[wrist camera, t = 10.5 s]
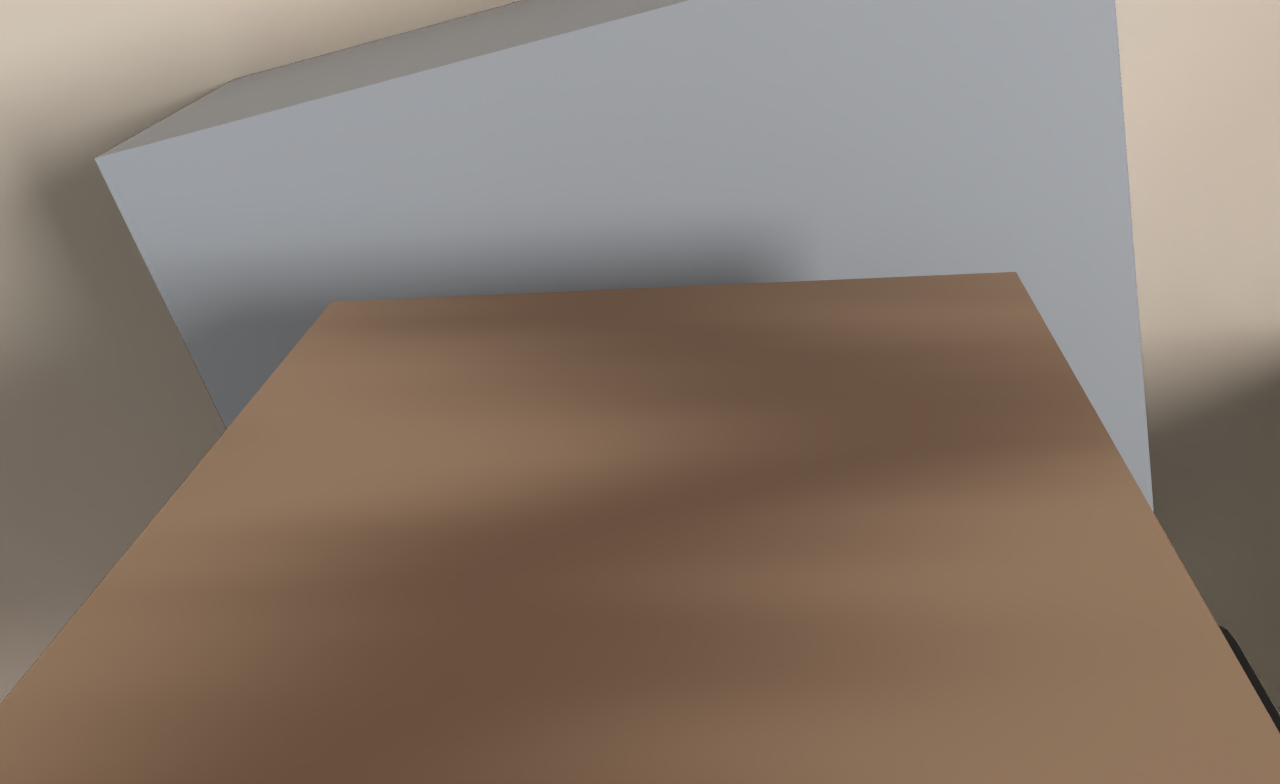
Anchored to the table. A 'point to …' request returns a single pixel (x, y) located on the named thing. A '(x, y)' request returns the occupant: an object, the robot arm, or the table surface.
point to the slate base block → (654, 170)
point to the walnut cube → (654, 561)
